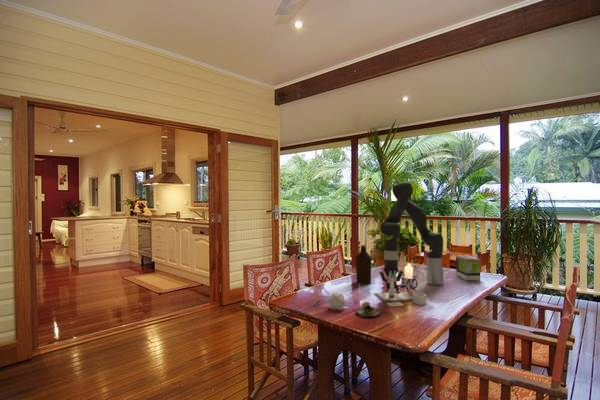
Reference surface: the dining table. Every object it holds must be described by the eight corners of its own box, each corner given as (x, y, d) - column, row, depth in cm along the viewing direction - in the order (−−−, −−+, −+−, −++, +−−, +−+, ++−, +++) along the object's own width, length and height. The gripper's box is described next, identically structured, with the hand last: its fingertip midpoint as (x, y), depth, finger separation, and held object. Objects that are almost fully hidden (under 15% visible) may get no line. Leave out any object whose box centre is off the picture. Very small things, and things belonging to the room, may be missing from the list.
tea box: (481, 280, 218) (480, 258, 218) (466, 281, 219) (465, 259, 218) (469, 275, 234) (469, 254, 233) (455, 275, 234) (455, 255, 234)
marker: (392, 296, 185) (392, 272, 185) (395, 297, 182) (395, 273, 182) (387, 296, 185) (387, 272, 185) (390, 297, 182) (389, 273, 182)
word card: (386, 303, 176) (386, 302, 176) (400, 302, 177) (400, 301, 177) (390, 306, 171) (390, 306, 171) (404, 305, 172) (404, 304, 172)
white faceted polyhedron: (336, 314, 163) (347, 298, 164) (323, 303, 167) (334, 287, 167) (340, 314, 170) (350, 299, 171) (327, 304, 174) (337, 289, 175)
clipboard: (406, 292, 196) (406, 290, 196) (419, 300, 180) (419, 298, 180) (374, 294, 192) (374, 292, 192) (385, 302, 177) (385, 300, 177)
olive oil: (364, 285, 211) (364, 247, 211) (352, 282, 220) (351, 245, 219) (375, 282, 218) (374, 245, 218) (362, 279, 226) (362, 243, 226)
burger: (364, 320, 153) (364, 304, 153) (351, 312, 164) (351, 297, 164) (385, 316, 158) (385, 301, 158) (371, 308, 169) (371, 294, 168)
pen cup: (422, 300, 180) (421, 292, 180) (428, 304, 173) (428, 295, 173) (411, 301, 179) (410, 293, 179) (417, 305, 172) (416, 296, 172)
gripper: (399, 256, 188) (400, 286, 188) (376, 257, 186) (376, 287, 186) (405, 259, 181) (406, 290, 181) (381, 260, 179) (382, 291, 179)
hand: (391, 288), depth 183 cm, fingers closed on marker, 3 cm apart
